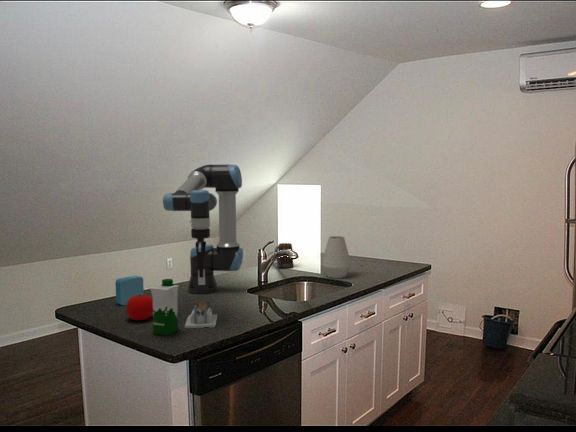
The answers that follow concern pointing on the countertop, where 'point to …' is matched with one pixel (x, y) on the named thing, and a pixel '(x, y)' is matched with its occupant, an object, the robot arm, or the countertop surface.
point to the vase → (336, 258)
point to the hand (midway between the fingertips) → (201, 284)
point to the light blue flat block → (128, 288)
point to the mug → (284, 257)
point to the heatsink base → (201, 325)
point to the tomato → (139, 307)
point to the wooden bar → (201, 307)
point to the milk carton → (165, 308)
